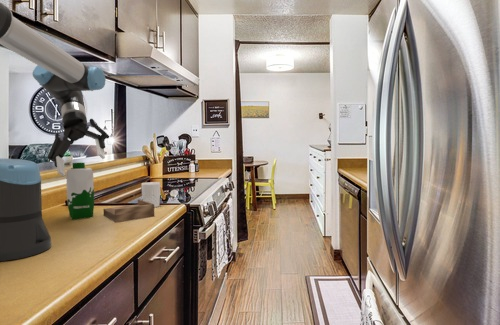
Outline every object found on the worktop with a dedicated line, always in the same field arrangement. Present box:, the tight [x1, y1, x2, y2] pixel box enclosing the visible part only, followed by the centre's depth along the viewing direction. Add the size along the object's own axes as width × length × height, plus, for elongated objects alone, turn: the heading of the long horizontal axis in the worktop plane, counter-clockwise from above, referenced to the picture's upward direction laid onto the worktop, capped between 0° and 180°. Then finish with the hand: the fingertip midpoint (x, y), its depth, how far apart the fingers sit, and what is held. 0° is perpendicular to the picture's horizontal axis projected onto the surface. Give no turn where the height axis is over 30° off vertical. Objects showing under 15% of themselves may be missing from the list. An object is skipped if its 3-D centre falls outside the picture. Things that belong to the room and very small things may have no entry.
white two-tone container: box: [65, 162, 95, 221], centre depth 120 cm, size 9×9×20 cm
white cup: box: [140, 181, 161, 208], centre depth 139 cm, size 8×8×10 cm
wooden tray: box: [102, 198, 155, 223], centre depth 121 cm, size 14×14×4 cm
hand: (81, 165), depth 103 cm, fingers open, 13 cm apart
